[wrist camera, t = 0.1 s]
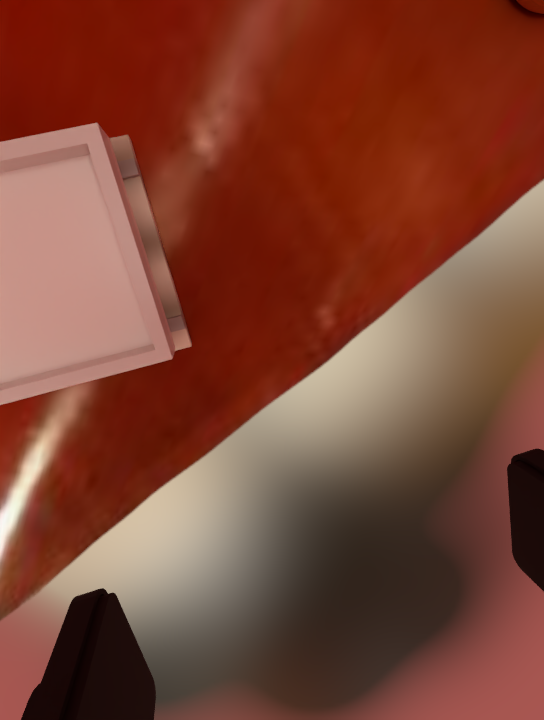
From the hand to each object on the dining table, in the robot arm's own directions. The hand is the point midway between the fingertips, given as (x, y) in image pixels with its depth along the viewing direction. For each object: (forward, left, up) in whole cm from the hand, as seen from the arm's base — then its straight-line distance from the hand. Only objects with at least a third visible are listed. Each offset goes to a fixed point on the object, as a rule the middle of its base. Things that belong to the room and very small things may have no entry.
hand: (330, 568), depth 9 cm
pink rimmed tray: (-8, -13, -28) cm, 32 cm away
